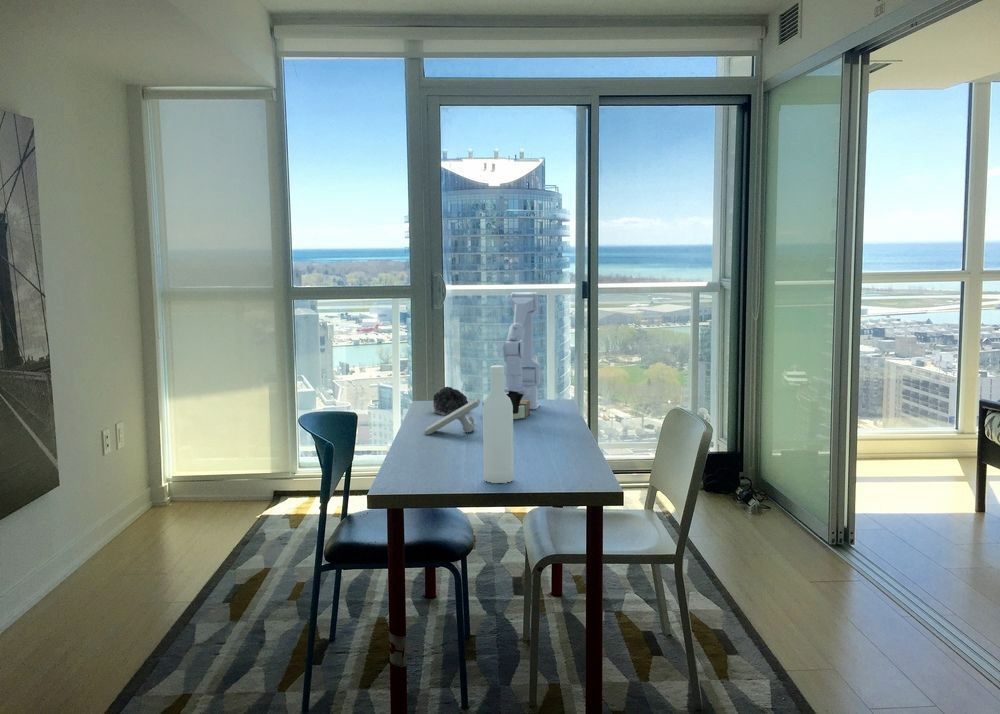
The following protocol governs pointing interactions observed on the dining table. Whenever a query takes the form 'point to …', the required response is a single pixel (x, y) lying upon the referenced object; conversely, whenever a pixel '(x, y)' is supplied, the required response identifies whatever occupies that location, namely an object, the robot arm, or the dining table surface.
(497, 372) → the bottle
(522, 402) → the cabinet
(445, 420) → the door handle
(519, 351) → the robot arm
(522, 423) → the dining table surface
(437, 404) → the crystal cluster
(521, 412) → the door
